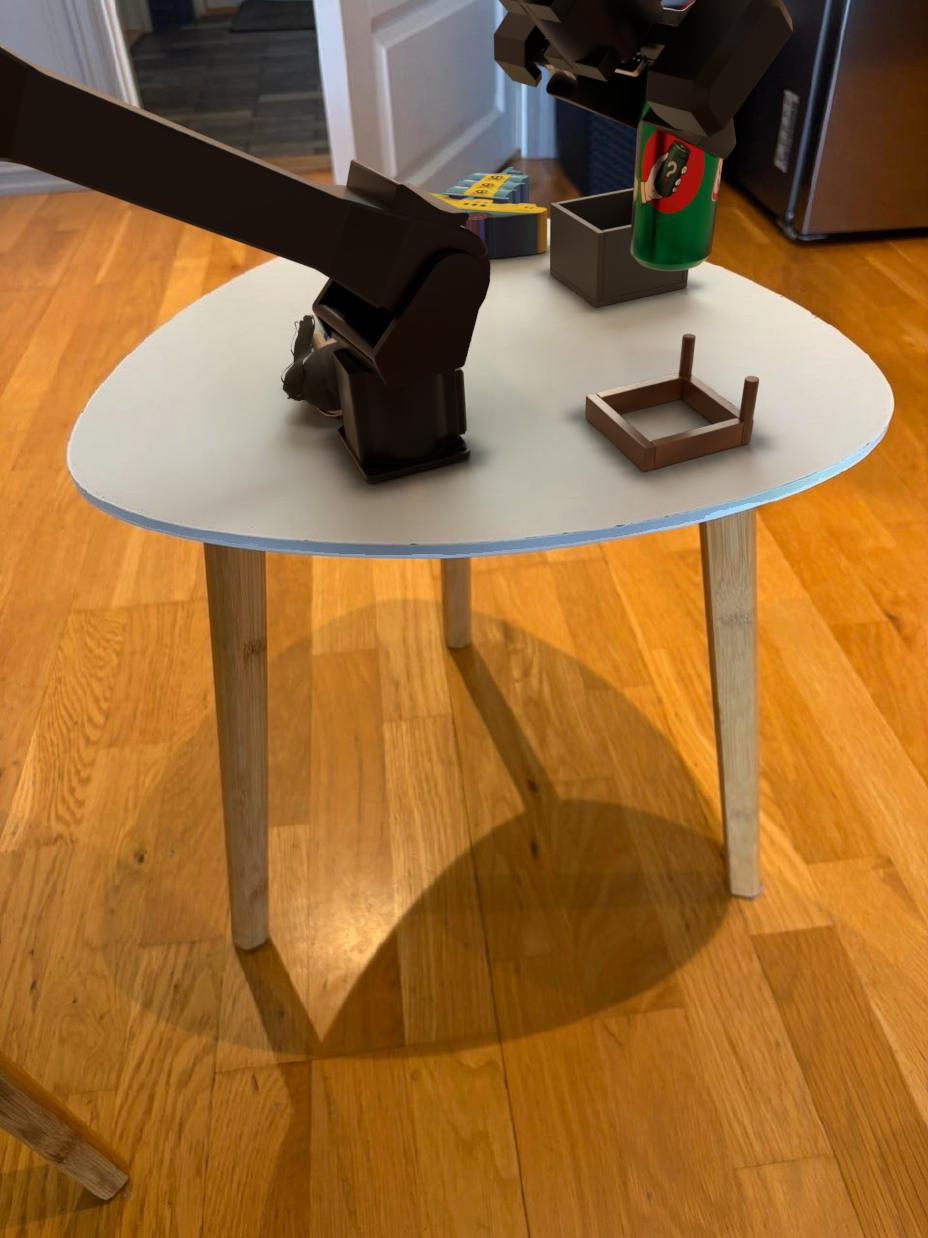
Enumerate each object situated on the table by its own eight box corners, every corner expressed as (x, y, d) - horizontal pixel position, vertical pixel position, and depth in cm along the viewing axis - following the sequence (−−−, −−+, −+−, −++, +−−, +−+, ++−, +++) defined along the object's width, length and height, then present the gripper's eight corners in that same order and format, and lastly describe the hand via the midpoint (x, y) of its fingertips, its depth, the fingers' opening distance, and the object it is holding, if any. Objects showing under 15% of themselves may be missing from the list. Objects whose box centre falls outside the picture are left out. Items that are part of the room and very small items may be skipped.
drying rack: (643, 472, 54) (649, 408, 51) (584, 416, 59) (586, 356, 56) (752, 442, 55) (762, 379, 53) (684, 391, 61) (691, 331, 58)
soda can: (724, 267, 58) (754, 41, 50) (648, 278, 57) (667, 51, 50) (688, 241, 62) (710, 27, 54) (616, 252, 61) (628, 36, 53)
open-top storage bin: (595, 307, 72) (598, 233, 68) (549, 273, 77) (549, 203, 74) (687, 287, 74) (694, 214, 70) (635, 255, 79) (639, 186, 76)
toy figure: (311, 335, 71) (277, 424, 59) (309, 249, 67) (271, 327, 55) (406, 342, 71) (391, 432, 59) (409, 257, 67) (393, 335, 56)
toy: (363, 203, 83) (452, 159, 92) (368, 242, 85) (454, 195, 94) (520, 226, 76) (598, 176, 85) (520, 268, 78) (597, 214, 88)
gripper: (801, -253, 37) (920, 37, 48) (536, -223, 49) (679, 0, 60) (626, 11, 39) (779, 229, 50) (415, -25, 52) (575, 155, 63)
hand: (698, 142), depth 56 cm, fingers closed on soda can, 5 cm apart
